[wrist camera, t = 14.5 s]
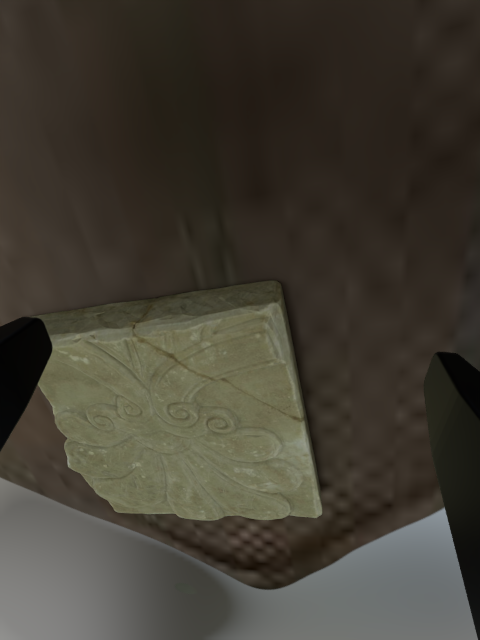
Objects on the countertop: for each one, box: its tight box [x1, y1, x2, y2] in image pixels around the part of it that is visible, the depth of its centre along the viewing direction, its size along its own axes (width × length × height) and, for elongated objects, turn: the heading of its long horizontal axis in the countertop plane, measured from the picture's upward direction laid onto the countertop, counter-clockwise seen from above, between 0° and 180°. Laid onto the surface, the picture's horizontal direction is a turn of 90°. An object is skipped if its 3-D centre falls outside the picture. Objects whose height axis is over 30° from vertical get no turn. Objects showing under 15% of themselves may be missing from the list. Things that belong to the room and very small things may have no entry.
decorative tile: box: [31, 280, 322, 520], centre depth 28 cm, size 19×20×4 cm
